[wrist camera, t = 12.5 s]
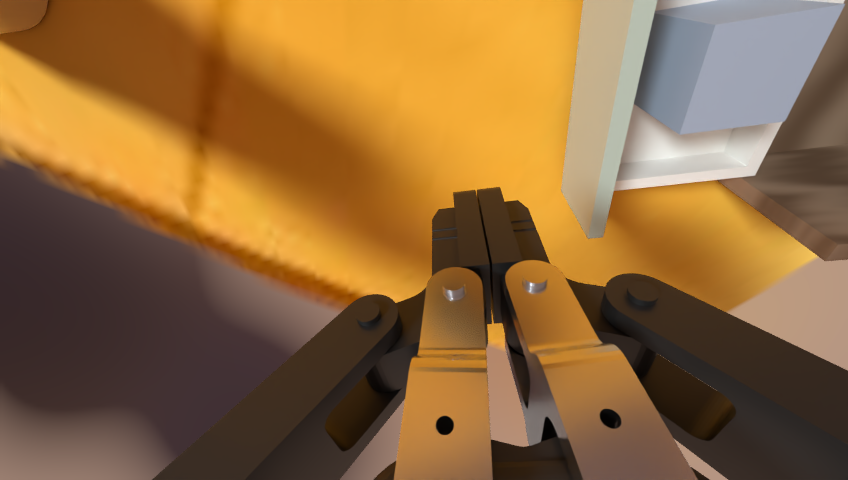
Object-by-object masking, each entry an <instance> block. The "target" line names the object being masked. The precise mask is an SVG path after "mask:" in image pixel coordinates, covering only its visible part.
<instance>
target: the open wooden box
mask: <svg viewBox="0 0 848 480" xmlns="http://www.w3.org/2000/svg"><path fill="white" fill-rule="evenodd" d="M843 4H845V6H844V8H843V10H842V11H841V13H840V15H839V17H838V19H837V21H836V23H835V25H834V27H833V29H832V31H831V33H830V35H829V37H828V39H827V41H826V43H825V45H824V46H823V48H822V50H821V52H820V54H819V56H818V58H817V60H816V62H815V64H814V66H813V68H812V70H811V72H810V74H809V76H808V78H807V79H806V81H805V83H804V85H803V87H802V89H801V91H800V93H799V95H798V97H797V99H796V101H795V103H794V105H793V107H792V109H791V111H790V113H789V114H788V116H787V118H786V120H785V121H784V122H782V124H781V126H780V128H779V130H778V132H777V134H776V136H775V138H774V139H773V141H772V143H771V145H770V147H769V149H768V151H767V153H766V155H765V157H764V159H763V161H762V163H761V165H760V167H759V169H758V171H757V173H756V174H755V176H747V177H738V178H729V179H719V180H718V181H719V182H720V183H722V184H723V185H724V186H726V187H727V188H728V189H730V190H731V191H732V192H734V193H735V194H736V195H738V196H739V197H740V198H742V199H743V200H744V201H746V202H747V203H748V204H749V205H751V206H752V207H753V208H755V209H756V210H757V211H759V212H760V213H761V214H763V215H764V216H765V217H767V218H768V219H769V220H771V221H772V222H773V223H775V224H776V225H777V226H779V227H780V228H781V229H783V230H784V231H785V232H787V233H788V234H789V235H791V236H792V237H793V238H795V239H796V240H797V241H799V242H800V243H801V244H803V245H804V246H805V247H807V248H808V249H809V250H811V251H812V252H813V253H815V254H816V255H817V256H819V257H820V258H822V259H823V260H824V261H834V260H847V259H848V0H845V1H844V3H843Z"/></svg>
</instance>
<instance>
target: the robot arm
mask: <svg viewBox="0 0 848 480" xmlns="http://www.w3.org/2000/svg"><path fill="white" fill-rule="evenodd" d="M47 4H48V0H0V34H3V33H9V32H16V31H22V30H27V29H30V28H32V27H34V26H35V25H37V24H39V22H40V21H41V19H42V18H43V17H44V15H45V13H46V9H47ZM453 196H454V207H455V208H446V209H439V210H438V211H437V213H436V214H435V216H434V218H433V219H432V231H433V232H432V240H433V241H432V277H431V278H430V280H429V281H428V283H427V287H426V288H425V289H424V290H423V291H422V292H421V293H419V294H418V295H416V296H414V297H412V298H409V299H406V300H404V301H401V302H398V303H395V302H394V301H393V300H392V299H391V298H389V297H387V296H384V295H379V294H373V295H367V296H364V297H361V298H359V299H357V300H356V301H354V302H353V303H352V304H350V305H349V306H348V307H347V308H346V309H345V310H343V311H342V312H341V313H340V314H339V315H338V316H337V317H336V318H334V319H333V320H332V321H331V322H330V323H329V324H328V325H327V326H325V327H324V328H323V329H322V330H321V331H320V332H319V333H317V334H316V335H315V336H314V337H313V338H312V339H311V340H310V341H308V342H307V343H306V344H305V345H304V346H303V347H302V348H301V349H299V350H298V351H297V352H296V353H295V354H294V355H293V356H291V357H290V358H289V359H288V360H287V361H286V362H285V363H284V364H282V365H281V366H280V367H279V368H278V369H277V370H276V371H274V372H273V373H272V374H271V375H270V376H269V377H268V378H267V379H265V380H264V381H263V382H262V383H261V384H260V385H259V386H258V387H256V388H255V389H254V390H253V391H252V392H251V393H250V394H249V395H247V396H246V397H245V398H244V399H243V400H242V401H241V402H239V404H237V405H236V406H235V407H234V408H233V409H231V410H230V411H229V412H228V413H227V414H226V415H225V416H224V417H222V418H221V419H220V420H219V421H218V422H217V423H216V424H215V425H214V426H212V427H211V428H210V429H209V430H208V431H207V432H206V433H204V434H203V435H202V436H201V437H200V438H199V439H198V440H196V442H195V443H193V444H192V445H191V446H190V447H189V448H187V449H186V450H185V451H184V452H183V453H182V454H181V455H180V456H178V457H177V458H176V459H175V460H174V461H173V462H172V463H170V464H169V465H168V466H167V467H166V468H165V469H164V470H163V471H161V472H160V473H159V474H158V475H157V476H156V477H155V478H154V479H153V480H340V478H341V477H342V476H343V475H344V473H345V472H346V471H347V470H348V468H349V467H350V466H351V465H352V463H353V462H354V461H355V460H356V459H357V457H358V456H359V455H360V453H361V452H362V451H363V450H364V448H365V447H366V446H367V445H368V444H369V442H370V441H371V440H372V439H373V437H374V436H375V435H376V434H377V433H378V431H379V430H380V429H381V427H382V426H383V425H384V424H385V423H386V421H387V420H388V419H389V418H390V416H391V415H392V414H393V413H394V411H395V410H396V409H397V408H398V406H399V405H400V404H401V403H402V401H403V400H404V399H405V403H404V410H403V417H402V424H401V432H400V438H399V446H398V453H397V460H396V461H395V462H394V463H392V464H391V465H389V466H388V467H387V468H385V470H383V471H382V472H381V473H380V474H379V475H378V476H377V477H376V478H375V479H374V480H709V479H708V478H706V477H705V476H704V475H702V474H701V473H699V472H698V471H696V470H695V469H693V468H692V467H690V466H689V464H688V462H687V461H686V459H685V457H684V456H683V454H682V452H681V450H680V449H679V447H678V445H677V444H676V442H675V440H677V441H678V442H679V443H681V444H682V445H683V446H685V447H686V448H687V449H689V450H690V451H691V452H693V453H694V454H695V455H697V456H698V457H699V458H701V459H702V460H703V461H704V462H706V463H707V464H709V465H710V466H711V467H713V468H714V469H715V470H716V471H718V472H719V473H720V474H722V475H723V476H724V477H726V478H727V479H728V480H848V371H847V370H845V369H843V368H841V367H839V366H837V365H834V364H833V363H830V362H829V361H826V360H824V359H822V358H820V357H818V356H816V355H814V354H812V353H810V352H808V351H805V350H803V349H801V348H799V347H797V346H795V345H793V344H791V343H789V342H786V341H785V340H782V339H780V338H778V337H776V336H774V335H772V334H770V333H768V332H766V331H764V330H762V329H760V328H757V327H755V326H753V325H751V324H749V323H747V322H745V321H743V320H741V319H738V318H737V317H734V316H732V315H730V314H728V313H726V312H724V311H722V310H720V309H718V308H716V307H714V306H711V305H709V304H707V303H705V302H703V301H701V300H699V299H697V298H695V297H693V296H691V295H688V294H686V293H684V292H682V291H680V290H678V289H676V288H674V287H672V286H670V285H668V284H665V283H663V282H661V281H659V280H657V279H655V278H652V277H649V276H646V275H641V274H622V275H618V276H615V277H613V278H612V279H611V280H609V282H608V283H607V285H606V287H603V286H596V285H590V284H583V283H578V282H575V281H572V280H569V279H567V278H565V277H564V275H563V273H562V272H561V271H560V270H559V269H558V268H556V267H555V266H553V265H551V264H550V262H549V260H548V257H547V255H546V252H545V250H544V247H543V245H542V242H541V240H540V237H539V235H538V232H537V230H536V227H535V225H534V222H533V221H532V217H531V215H530V212H529V210H528V208H527V207H525V206H524V205H523V204H522V203H520V202H519V201H518V200H517V201H508V202H504V199H503V196H502V192H501V189H500V187H496V188H487V189H479V190H477V196H476V191H475V190H471V191H462V192H454V193H453ZM491 308H492V314H493V320H494V323H503V327H504V332H505V349H506V353H507V356H508V360H509V363H510V367H511V370H512V374H513V378H514V381H515V385H516V388H517V392H518V395H519V399H520V402H521V406H522V410H523V414H524V419H525V424H526V432H527V438H528V443H529V446H527V447H519V446H515V445H511V444H507V443H503V442H499V441H495V440H491V433H490V432H491V430H490V412H489V393H488V375H487V356H486V347H487V344H488V330H487V324H492V317H491ZM658 354H659V355H658ZM660 355H661V356H660ZM663 357H664V358H663ZM668 360H669V361H668ZM671 362H672V363H671ZM676 365H677V366H676ZM679 367H680V368H679ZM684 370H685V371H684ZM687 372H688V373H687ZM689 373H690V374H689ZM692 375H693V376H692ZM697 378H698V379H697ZM700 380H701V381H700ZM705 383H706V384H705ZM708 385H709V386H708ZM710 386H711V387H710ZM713 388H714V389H713ZM718 391H719V392H718ZM674 439H675V440H674Z"/></svg>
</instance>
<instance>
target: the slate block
mask: <svg viewBox="0 0 848 480" xmlns="http://www.w3.org/2000/svg"><path fill="white" fill-rule="evenodd" d="M844 6H845V4H842V3H830V2H817V1H805V0H716V1H710V2H704V3H699V4H693V5H687V6H681V7H675V8H669V9H664V10H658V11H655V13H654V17H653V22H652V26H651V30H650V35H649V39H648V43H647V48H646V52H645V56H644V61H643V65H642V70H641V74H640V78H639V83H638V87H637V91H636V96H635V100H634V104H635V105H636V106H638V107H639V108H641V109H642V110H644V111H645V112H647V113H648V114H650V115H651V116H653V117H654V118H656V119H657V120H658V121H660V122H661V123H663V124H664V125H666V126H667V127H669V128H670V129H672V130H673V131H675V132H676V133H678V134H679V135H682V134H690V133H698V132H706V131H713V130H721V129H729V128H737V127H745V126H753V125H761V124H768V123H776V122H784V121H785V120H786V118H787V116H788V114H789V113H790V111H791V109H792V107H793V105H794V103H795V101H796V99H797V97H798V95H799V93H800V91H801V89H802V87H803V85H804V83H805V81H806V79H807V78H808V76H809V74H810V72H811V70H812V68H813V66H814V64H815V62H816V60H817V58H818V56H819V54H820V52H821V50H822V48H823V46H824V45H825V43H826V41H827V39H828V37H829V35H830V33H831V31H832V29H833V27H834V25H835V23H836V21H837V19H838V17H839V15H840V13H841V11H842V10H843V8H844Z"/></svg>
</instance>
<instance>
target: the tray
mask: <svg viewBox="0 0 848 480" xmlns="http://www.w3.org/2000/svg"><path fill="white" fill-rule="evenodd" d="M710 1H716V0H583V7H582V16H581V24H580V33H579V41H578V50H577V58H576V67H575V76H574V84H573V93H572V101H571V110H570V118H569V127H568V135H567V144H566V152H565V161H564V170H563V178H562V187H561V191H562V193H563V195H564V197H565V199H566V200H567V202H568V204H569V206H570V208H571V209H572V211H573V213H574V215H575V216H576V218H577V220H578V222H579V224H580V225H581V227H582V229H583V231H584V233H585V234H586V236H587V238H588V239H589V238H600V237H603V235H604V231H605V226H606V222H607V218H608V213H609V209H610V205H611V200H612V196H613V192H614V191H618V190H627V189H636V188H645V187H655V186H664V185H673V184H682V183H692V182H701V181H710V180H719V179H729V178H738V177H747V176H755V174H756V173H757V171H758V169H759V167H760V165H761V163H762V161H763V159H764V157H765V155H766V153H767V151H768V149H769V147H770V145H771V143H772V141H773V139H774V138H775V136H776V134H777V132H778V130H779V128H780V126H781V124H782V122H776V123H768V124H761V125H753V126H745V127H737V128H729V129H721V130H713V131H706V132H698V133H690V134H682V135H679V134H678V133H676V132H675V131H673V130H672V129H670V128H669V127H667V126H666V125H664V124H663V123H661V122H660V121H658V120H657V119H656V118H654V117H653V116H651V115H650V114H648V113H647V112H645V111H644V110H642V109H641V108H639V107H638V106H636V105H635V104H634V100H635V96H636V91H637V87H638V83H639V78H640V74H641V70H642V65H643V61H644V56H645V52H646V48H647V43H648V39H649V35H650V30H651V26H652V22H653V17H654V13H655V11H658V10H664V9H669V8H675V7H681V6H687V5H693V4H699V3H704V2H710ZM805 1H817V2H830V3H842V4H843V3H844V1H845V0H805Z"/></svg>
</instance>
